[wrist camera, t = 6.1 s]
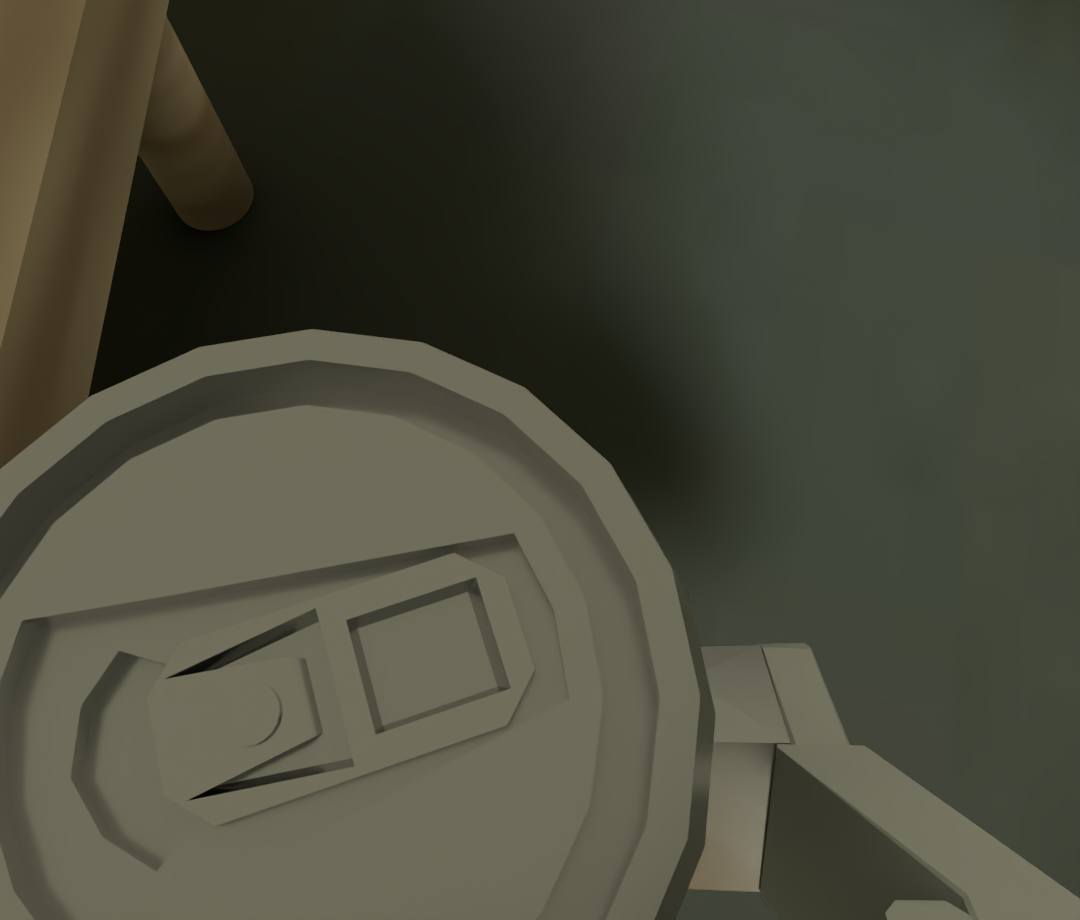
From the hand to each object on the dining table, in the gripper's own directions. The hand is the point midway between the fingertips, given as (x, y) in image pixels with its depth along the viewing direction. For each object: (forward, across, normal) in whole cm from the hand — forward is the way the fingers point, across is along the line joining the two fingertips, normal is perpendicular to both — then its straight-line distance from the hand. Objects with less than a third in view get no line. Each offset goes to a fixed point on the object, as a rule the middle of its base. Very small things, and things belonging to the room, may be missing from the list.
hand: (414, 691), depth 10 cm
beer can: (+5, 0, +6) cm, 7 cm away
